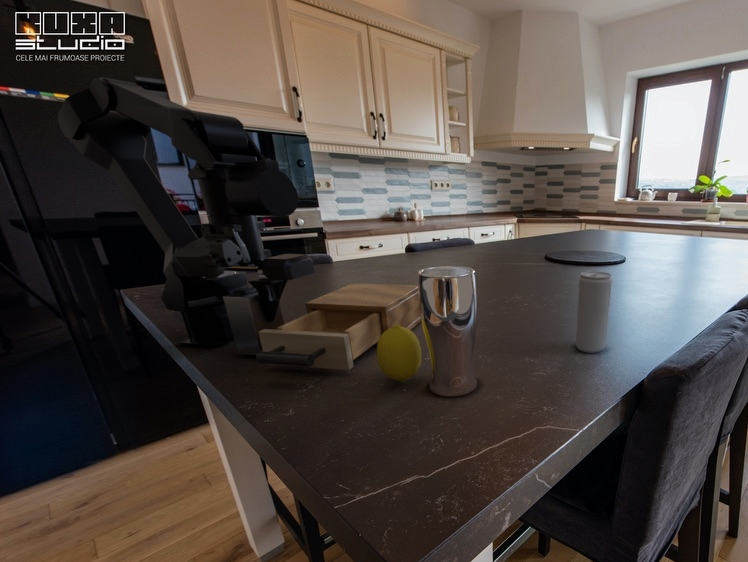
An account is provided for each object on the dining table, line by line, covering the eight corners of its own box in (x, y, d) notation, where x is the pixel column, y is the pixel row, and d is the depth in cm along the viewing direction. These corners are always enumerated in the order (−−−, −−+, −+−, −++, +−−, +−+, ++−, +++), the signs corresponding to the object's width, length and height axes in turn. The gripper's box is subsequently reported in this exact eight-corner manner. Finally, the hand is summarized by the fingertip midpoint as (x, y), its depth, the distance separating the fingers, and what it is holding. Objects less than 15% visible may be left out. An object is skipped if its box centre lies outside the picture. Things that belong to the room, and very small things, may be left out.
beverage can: (611, 348, 64) (618, 274, 59) (595, 356, 60) (601, 279, 56) (585, 340, 67) (590, 270, 62) (569, 348, 63) (573, 274, 59)
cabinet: (390, 346, 64) (385, 306, 62) (312, 342, 66) (305, 302, 64) (423, 319, 78) (420, 285, 75) (357, 316, 80) (353, 283, 77)
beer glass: (457, 404, 47) (450, 279, 42) (414, 389, 50) (403, 272, 45) (490, 381, 52) (488, 269, 47) (450, 370, 56) (443, 263, 50)
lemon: (413, 393, 49) (406, 333, 46) (372, 389, 50) (364, 330, 47) (430, 374, 54) (425, 319, 52) (393, 371, 55) (386, 317, 53)
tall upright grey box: (237, 354, 60) (220, 291, 56) (266, 340, 65) (252, 282, 62) (261, 355, 59) (245, 292, 56) (288, 341, 65) (275, 282, 61)
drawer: (331, 384, 50) (324, 348, 48) (241, 378, 51) (232, 343, 50) (392, 336, 66) (389, 308, 64) (323, 332, 68) (318, 304, 66)
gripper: (113, 218, 49) (153, 335, 55) (247, 220, 46) (275, 343, 52) (193, 213, 59) (221, 312, 65) (307, 214, 57) (325, 318, 62)
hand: (257, 321), depth 61 cm, fingers closed on tall upright grey box, 4 cm apart
